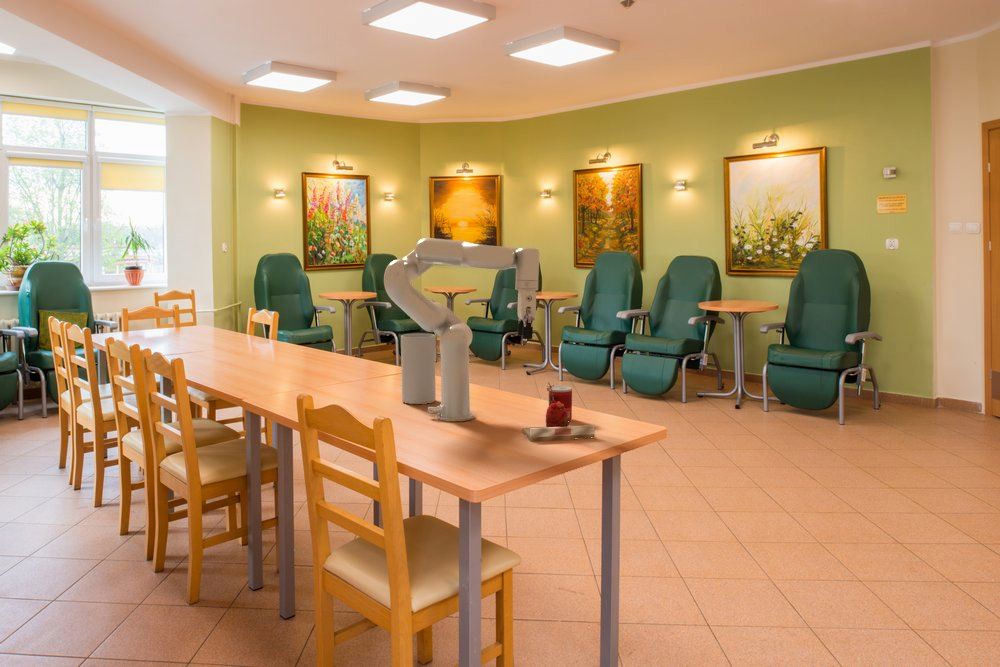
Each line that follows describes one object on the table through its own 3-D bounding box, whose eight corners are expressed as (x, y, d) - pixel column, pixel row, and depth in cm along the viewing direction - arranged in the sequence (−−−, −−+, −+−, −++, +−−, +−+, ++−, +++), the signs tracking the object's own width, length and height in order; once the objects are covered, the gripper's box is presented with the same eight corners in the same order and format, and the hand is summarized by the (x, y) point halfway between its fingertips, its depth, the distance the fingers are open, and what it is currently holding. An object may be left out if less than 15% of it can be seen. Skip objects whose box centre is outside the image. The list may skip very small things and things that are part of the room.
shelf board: (530, 441, 224) (530, 429, 224) (521, 431, 236) (521, 419, 236) (594, 438, 228) (594, 425, 227) (582, 428, 240) (582, 416, 239)
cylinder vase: (442, 400, 283) (441, 334, 280) (421, 406, 272) (420, 338, 269) (416, 396, 289) (415, 332, 286) (395, 402, 279) (393, 336, 276)
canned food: (574, 418, 254) (574, 386, 252) (568, 423, 246) (568, 390, 245) (552, 416, 256) (552, 385, 255) (545, 421, 249) (546, 389, 247)
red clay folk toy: (562, 434, 228) (563, 385, 226) (541, 431, 231) (541, 384, 229) (571, 428, 234) (571, 381, 233) (550, 426, 237) (550, 379, 236)
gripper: (543, 287, 239) (540, 340, 241) (533, 284, 256) (531, 333, 258) (519, 287, 238) (517, 340, 240) (511, 283, 255) (509, 333, 257)
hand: (524, 336), depth 249 cm, fingers open, 9 cm apart
